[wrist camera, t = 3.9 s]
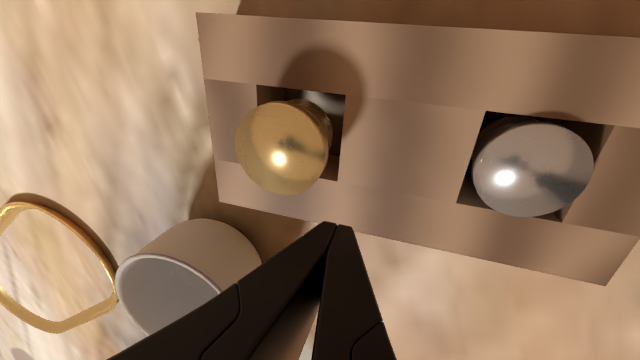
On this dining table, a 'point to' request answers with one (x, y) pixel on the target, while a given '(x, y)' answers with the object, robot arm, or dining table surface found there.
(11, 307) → the gold ring
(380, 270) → the dining table surface
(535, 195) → the grey plug
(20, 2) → the dining table surface
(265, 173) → the brass plug
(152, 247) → the teacup
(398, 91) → the walnut block
